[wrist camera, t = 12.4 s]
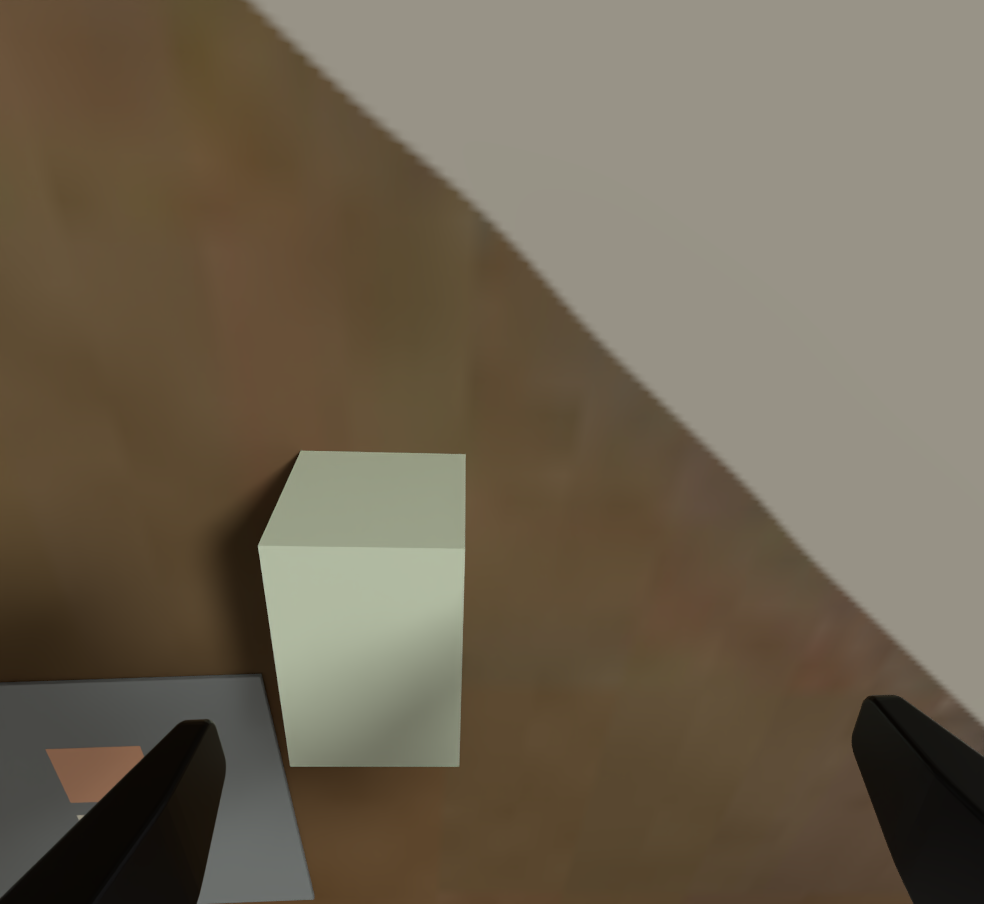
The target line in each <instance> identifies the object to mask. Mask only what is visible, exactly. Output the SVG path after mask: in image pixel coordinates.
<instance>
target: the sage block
mask: <svg viewBox="0 0 984 904" xmlns="http://www.w3.org/2000/svg"><path fill="white" fill-rule="evenodd" d="M465 466H466V454H426V453H380V452H334V451H300V454H299V456H298V458H297V460H296V462H295V465H294V467H293V469H292V471H291V473H290V476H289V478H288V480H287V482H286V484H285V487H284V489H283V491H282V493H281V496H280V498H279V500H278V502H277V504H276V507H275V509H274V511H273V513H272V515H271V518H270V520H269V522H268V524H267V527H266V529H265V531H264V533H263V535H262V538H261V540H260V542H259V544H258V550H259V557H260V564H261V571H262V578H263V585H264V591H265V598H266V605H267V612H268V619H269V626H270V632H271V639H272V646H273V653H274V660H275V667H276V674H277V680H278V687H279V694H280V701H281V708H282V715H283V721H284V728H285V735H286V742H287V749H288V756H289V763H290V767H459V755H460V717H461V679H462V641H463V603H464V565H465Z"/></svg>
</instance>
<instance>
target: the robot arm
mask: <svg viewBox="0 0 984 904" xmlns="http://www.w3.org/2000/svg"><path fill="white" fill-rule="evenodd" d="M852 748H853V752H854V756H855V758H856V761H857V764H858V766H859V769H860V772H861V775H862V777H863V780H864V783H865V785H866V788H867V791H868V794H869V796H870V799H871V802H872V804H873V807H874V810H875V813H876V815H877V818H878V821H879V823H880V826H881V829H882V832H883V834H884V837H885V840H886V842H887V845H888V848H889V850H890V853H891V855H892V858H893V860H894V863H895V865H896V867H897V870H898V872H899V874H900V876H901V878H902V881H903V883H904V885H905V887H906V889H907V891H908V893H909V895H910V897H911V900H912V902H913V904H984V756H982V755H981V754H980V753H978V752H977V751H975V750H974V749H973V748H971V747H970V746H968V745H967V744H966V743H964V742H963V741H962V740H960V739H959V738H957V737H956V736H955V735H953V734H952V733H950V732H949V731H948V730H946V729H945V728H943V727H942V726H941V725H939V724H938V723H937V722H935V721H934V720H932V719H931V718H930V717H928V716H927V715H925V714H924V713H923V712H921V711H920V710H918V709H917V708H916V707H914V706H913V705H912V704H910V703H909V702H907V701H906V700H904V699H903V698H901V697H899V696H896V695H872V696H868V697H867V698H866V699H865V700H864V701H863V703H862V706H861V709H860V712H859V715H858V718H857V721H856V724H855V727H854V730H853V734H852ZM225 775H226V759H225V755H224V751H223V748H222V744H221V741H220V738H219V734H218V731H217V728H216V725H215V723H214V722H213V721H212V720H210V719H195V720H184V721H182V722H180V723H178V724H177V725H176V726H175V727H174V728H173V729H172V730H171V731H170V732H169V733H168V734H167V735H166V736H165V737H164V738H163V739H162V740H161V741H160V742H159V743H158V744H157V745H156V746H155V747H153V748H152V749H151V750H150V751H149V752H148V753H147V754H146V755H145V756H144V757H143V758H142V759H141V760H140V761H139V762H138V763H137V764H136V765H135V766H134V767H133V768H132V769H131V770H130V771H129V772H128V773H127V774H126V775H125V776H124V777H123V778H122V779H121V780H120V781H119V782H118V783H117V784H116V785H115V786H114V787H113V788H112V789H111V790H110V791H109V792H108V793H107V794H106V795H105V796H104V797H103V798H102V799H101V800H100V801H99V802H97V803H96V804H95V805H94V806H93V807H92V808H91V809H90V810H89V811H88V812H87V813H86V814H85V815H84V816H83V817H82V818H81V819H80V820H79V821H78V822H77V823H76V824H75V825H74V826H73V827H72V828H71V829H70V830H69V831H68V832H67V833H66V834H65V835H64V836H63V837H62V838H61V839H60V840H59V841H58V842H57V843H56V844H55V845H54V846H53V847H52V848H51V849H50V850H49V851H48V852H47V853H46V854H45V855H44V856H43V857H41V858H40V859H39V860H38V861H37V862H36V863H35V864H34V865H33V866H32V867H31V868H30V869H29V870H28V871H27V872H26V873H25V874H24V875H23V876H22V877H21V878H20V879H19V880H18V881H17V882H16V883H15V884H14V885H13V886H12V887H11V888H10V889H9V890H8V891H7V892H6V893H5V894H4V895H3V896H2V897H1V898H0V904H197V902H198V898H199V895H200V891H201V887H202V883H203V878H204V874H205V870H206V865H207V860H208V855H209V851H210V846H211V841H212V837H213V832H214V827H215V823H216V818H217V813H218V808H219V804H220V799H221V794H222V790H223V785H224V780H225Z"/></svg>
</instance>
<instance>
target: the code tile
mask: <svg viewBox="0 0 984 904" xmlns="http://www.w3.org/2000/svg"><path fill="white" fill-rule="evenodd" d="M195 719H210V720H212V721H213V722H214V723H215V725H216V728H217V731H218V734H219V738H220V741H221V744H222V748H223V751H224V755H225V759H226V775H225V780H224V785H223V790H222V794H221V799H220V804H219V808H218V813H217V818H216V823H215V827H214V832H213V837H212V841H211V846H210V851H209V855H208V860H207V865H206V870H205V874H204V878H203V883H202V887H201V891H200V895H199V898H198V902H197V904H210V903H236V902H261V901H287V900H312V899H314V892H313V888H312V884H311V879H310V875H309V871H308V867H307V863H306V859H305V854H304V850H303V846H302V842H301V838H300V833H299V829H298V825H297V821H296V817H295V812H294V808H293V804H292V800H291V796H290V792H289V787H288V783H287V779H286V775H285V771H284V766H283V762H282V758H281V754H280V750H279V745H278V741H277V737H276V733H275V729H274V724H273V720H272V716H271V712H270V708H269V704H268V699H267V695H266V691H265V687H264V683H263V678H262V674H239V675H209V676H180V677H150V678H121V679H91V680H62V681H32V682H2V683H0V898H1V897H2V896H3V895H4V894H5V893H6V892H7V891H8V890H9V889H10V888H11V887H12V886H13V885H14V884H15V883H16V882H17V881H18V880H19V879H20V878H21V877H22V876H23V875H24V874H25V873H26V872H27V871H28V870H29V869H30V868H31V867H32V866H33V865H34V864H35V863H36V862H37V861H38V860H39V859H40V858H41V857H43V856H44V855H45V854H46V853H47V852H48V851H49V850H50V849H51V848H52V847H53V846H54V845H55V844H56V843H57V842H58V841H59V840H60V839H61V838H62V837H63V836H64V835H65V834H66V833H67V832H68V831H69V830H70V829H71V828H72V827H73V826H74V825H75V824H76V823H77V822H78V821H79V820H80V819H81V818H82V817H83V816H84V815H85V814H86V813H87V812H88V811H89V810H90V809H91V808H92V807H93V806H94V805H95V804H96V803H97V802H99V801H100V800H101V799H102V798H103V797H104V796H105V795H106V794H107V793H108V792H109V791H110V790H111V789H112V788H113V787H114V786H115V785H116V784H117V783H118V782H119V781H120V780H121V779H122V778H123V777H124V776H125V775H126V774H127V773H128V772H129V771H130V770H131V769H132V768H133V767H134V766H135V765H136V764H137V763H138V762H139V761H140V760H141V759H142V758H143V757H144V756H145V755H146V754H147V753H148V752H149V751H150V750H151V749H152V748H153V747H155V746H156V745H157V744H158V743H159V742H160V741H161V740H162V739H163V738H164V737H165V736H166V735H167V734H168V733H169V732H170V731H171V730H172V729H173V728H174V727H175V726H176V725H177V724H178V723H180V722H182V721H184V720H195Z"/></svg>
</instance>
